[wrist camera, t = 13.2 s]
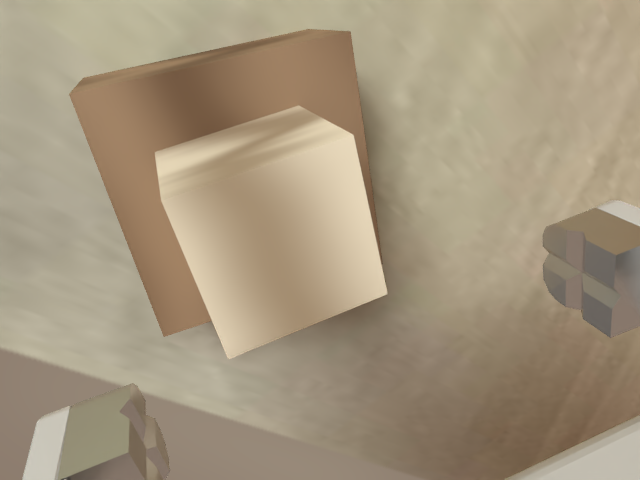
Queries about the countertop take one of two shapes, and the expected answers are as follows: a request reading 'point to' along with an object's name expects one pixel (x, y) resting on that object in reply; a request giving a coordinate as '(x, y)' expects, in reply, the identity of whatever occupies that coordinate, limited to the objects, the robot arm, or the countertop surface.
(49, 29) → the countertop surface
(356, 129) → the walnut block
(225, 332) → the birch cube
